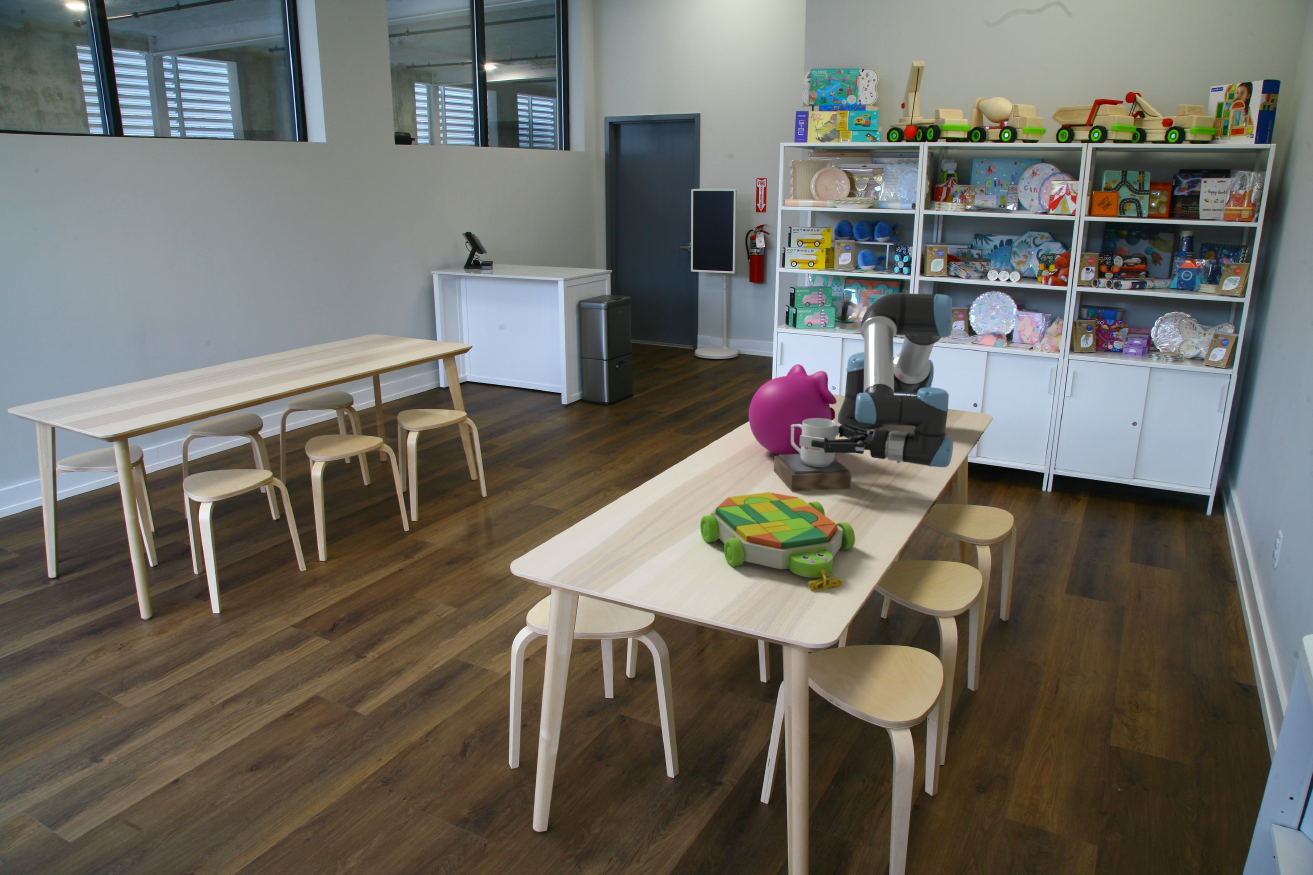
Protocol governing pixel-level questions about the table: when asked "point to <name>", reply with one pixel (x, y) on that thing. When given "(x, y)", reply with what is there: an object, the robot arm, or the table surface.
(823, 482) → the walnut plinth
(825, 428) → the mug
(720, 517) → the toy wagon
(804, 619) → the table surface
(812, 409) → the figurine
